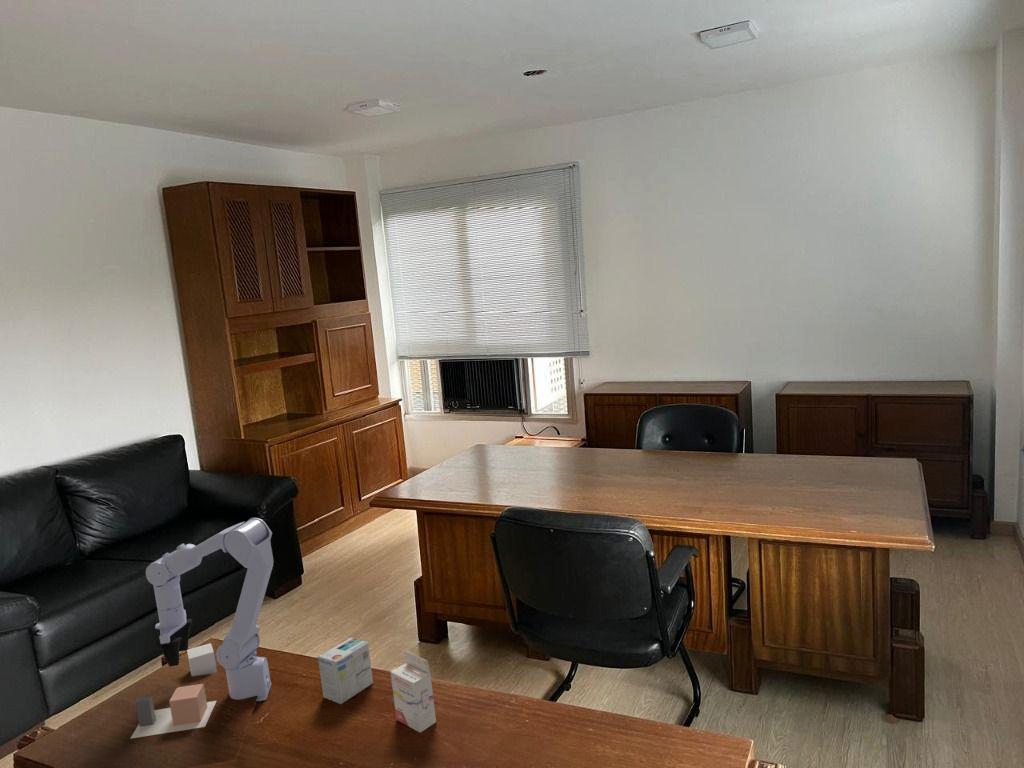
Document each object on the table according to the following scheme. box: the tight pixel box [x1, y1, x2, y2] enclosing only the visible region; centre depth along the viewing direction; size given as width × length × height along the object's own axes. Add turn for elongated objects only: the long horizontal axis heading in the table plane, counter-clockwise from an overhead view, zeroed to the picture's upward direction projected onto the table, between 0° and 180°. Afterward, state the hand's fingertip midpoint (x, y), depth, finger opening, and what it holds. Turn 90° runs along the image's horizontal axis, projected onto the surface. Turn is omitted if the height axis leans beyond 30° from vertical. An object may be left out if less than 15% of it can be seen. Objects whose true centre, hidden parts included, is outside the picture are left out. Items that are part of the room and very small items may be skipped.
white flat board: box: [129, 695, 217, 739], centre depth 178 cm, size 16×11×7 cm
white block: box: [186, 643, 218, 677], centre depth 202 cm, size 6×6×6 cm
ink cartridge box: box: [390, 650, 437, 733], centre depth 169 cm, size 9×5×15 cm, turn 47°
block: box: [168, 683, 208, 726], centre depth 178 cm, size 6×6×6 cm
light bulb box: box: [317, 637, 374, 705], centre depth 185 cm, size 11×7×11 cm, turn 144°
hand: (178, 657), depth 191 cm, fingers open, 7 cm apart
